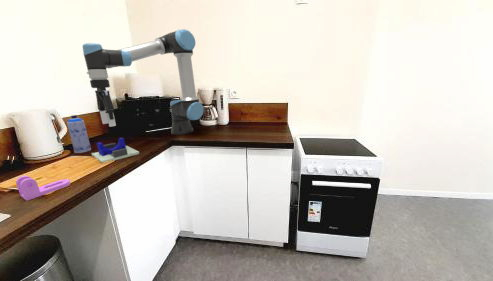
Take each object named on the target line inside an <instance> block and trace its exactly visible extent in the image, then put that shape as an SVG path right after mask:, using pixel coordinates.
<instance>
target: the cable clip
mask: <svg viewBox="0 0 493 281" xmlns="http://www.w3.org/2000/svg"><path fill="white" fill-rule="evenodd" d="M103 145H104V143H103V142H96V146H97V150H98V151H97V152H99V154H100V155H102V156H105V155H108V154H112V151H115V150H119V149H124V148H126V146H127V145H126V142H125V138H124V137H119V138H118V142H117V143H116V146H115V147H114V148H111V149H107V148H105V147H104V146H103Z"/></svg>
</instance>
